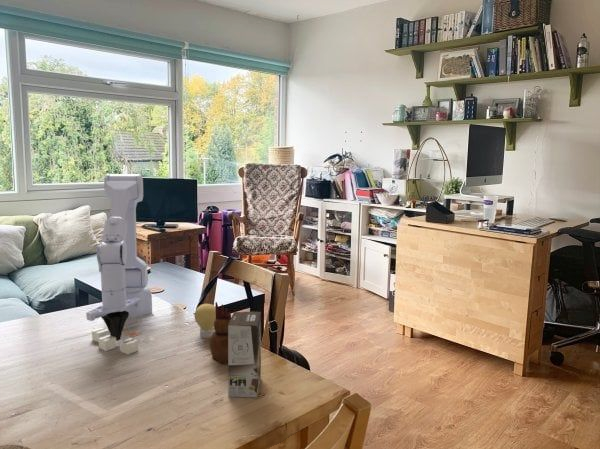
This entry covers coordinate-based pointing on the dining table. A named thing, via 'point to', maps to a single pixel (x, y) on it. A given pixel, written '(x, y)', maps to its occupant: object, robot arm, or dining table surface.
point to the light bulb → (205, 319)
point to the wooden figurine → (220, 336)
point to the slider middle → (107, 342)
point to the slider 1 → (99, 333)
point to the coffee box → (244, 354)
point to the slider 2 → (129, 346)
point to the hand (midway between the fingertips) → (116, 339)
